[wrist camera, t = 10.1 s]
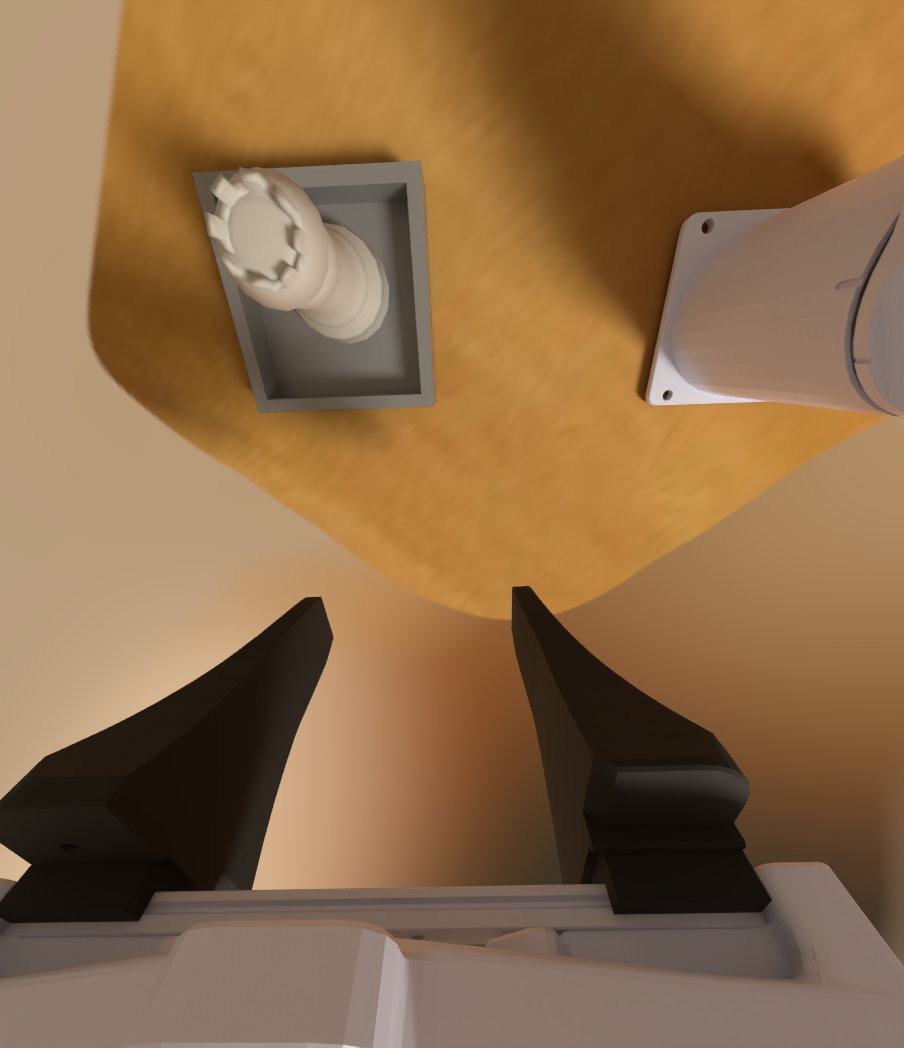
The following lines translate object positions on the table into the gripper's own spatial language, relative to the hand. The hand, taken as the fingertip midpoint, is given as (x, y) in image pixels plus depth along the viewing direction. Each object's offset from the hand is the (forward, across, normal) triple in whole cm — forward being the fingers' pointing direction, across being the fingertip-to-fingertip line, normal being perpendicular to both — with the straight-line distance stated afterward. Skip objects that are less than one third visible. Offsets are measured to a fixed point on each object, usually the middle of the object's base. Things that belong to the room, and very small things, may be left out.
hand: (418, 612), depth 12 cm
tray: (+10, +4, -11) cm, 15 cm away
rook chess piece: (+10, +3, -12) cm, 16 cm away
